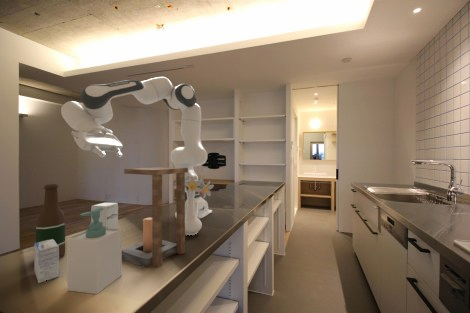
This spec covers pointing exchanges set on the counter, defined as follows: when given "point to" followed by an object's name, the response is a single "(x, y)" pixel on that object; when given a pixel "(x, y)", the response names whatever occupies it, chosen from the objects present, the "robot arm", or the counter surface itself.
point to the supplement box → (107, 214)
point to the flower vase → (191, 219)
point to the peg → (147, 235)
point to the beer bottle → (51, 220)
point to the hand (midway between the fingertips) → (112, 156)
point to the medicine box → (46, 260)
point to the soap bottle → (94, 257)
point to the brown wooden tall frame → (160, 220)
